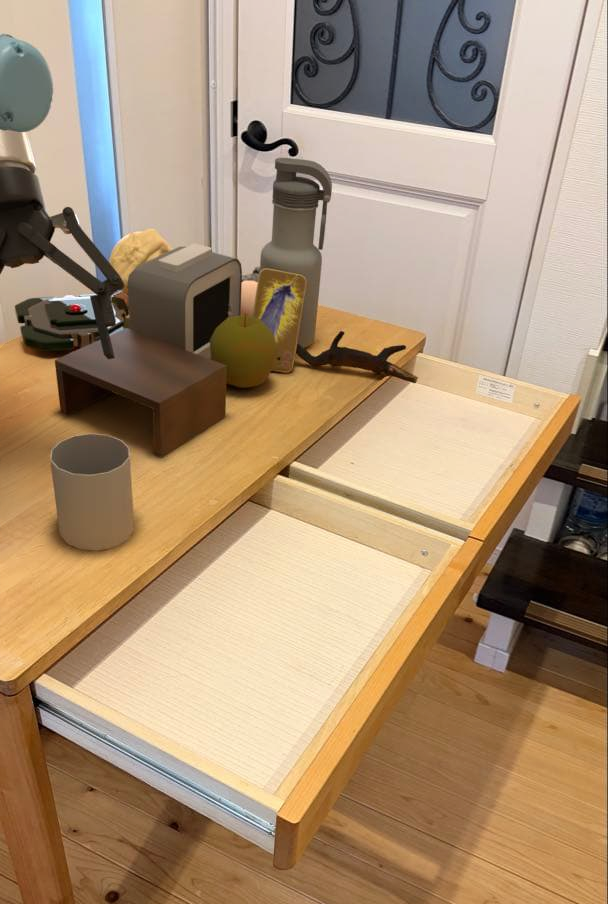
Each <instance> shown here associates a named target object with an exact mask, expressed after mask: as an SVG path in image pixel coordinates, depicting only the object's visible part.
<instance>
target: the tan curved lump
mask: <svg viewBox="0 0 608 904" xmlns="http://www.w3.org/2000/svg"><path fill="white" fill-rule="evenodd" d="M171 250H173V248H172V246H171V245H170V244H169V243H168V242H167V240H165V239H164V238H163V237H162V236H161V234H160V233H158V231H157V230H156V229H154V228H148V229H145V230H143V231H134V232H129V234H127V235H125V236H123V237H122V238H121V239H119V240H118V241H117V243H116V244H115V245H114V247H113V249H112V251H111V253H110V256H109V260H108V262H109V263H110V264H111V265H112V267H113V268H114V269H115V270H116V272H117V273H118V274H119V275H120V277H121V279H122V280H123V282H124V288H123V289H121V290H120V291H121V292H122V293H123V294H124V295H126V296H127V297H128V284H127V283H128V278H129V274H130V273H131V272H132V271H133V270H134V269H135V268H136V267H137V266H139V265H141V264H143V263H145V262H147V261H149V260H152V259H154V258H156V257H158V256H160V255H162V254H165V253H167V252H169V251H171Z"/></svg>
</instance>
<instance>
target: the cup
mask: <svg viewBox="0 0 608 904" xmlns="http://www.w3.org/2000/svg"><path fill="white" fill-rule="evenodd" d="M49 461H50V469H51V475H52V476H51V478H52V485H53V486H52V487H53V492H54V500H55V509H56V517H57V524H58V531H59V536H60V537H61V538H62V540H63V541H64V542H65V543H66V544H67V545H69V546H72V547H74V548H76V549H78V550H84V551H97V552H98V551H103V550H109V549H113V548H116V547H118V546H119V545H121V544H123V543H125V542H127V541H128V540H129V539H130V537H131V536H132V534H133V533H134V532H135V519H134V504H133V486H132V467H131V466H132V465H131V451H130V447H129V446H128V445H127V444H126V443H125V442H124V441H123V440H122V439H120V438H117V437H114V436H112V435H109V434H101V433H91V432H90V433H84V434H77V435H73V436H70V437H68V438H65V439H62V440H60V441H58V442H57V444H56V445H55V446H54V447H53V448H52V449H51V450H50V459H49Z"/></svg>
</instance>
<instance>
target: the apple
mask: <svg viewBox="0 0 608 904" xmlns="http://www.w3.org/2000/svg"><path fill="white" fill-rule="evenodd" d="M210 351H211V360H213V361H216V362H219V363H221V364H224V365H226V366H227V373H226V384H228V385H230V386H233V387H237V388H244V389H245V388H252V387H257V386H259V385H261V384H263V383H264V382H265V381H266V380H267V379H268V377H269V375H270V374H271V372H272V371H271V370H272V369H273V367H274V365H275V361H276V356H277V352H278V348H277V344H276V341H275V338H274V335H273V333H272V331H271V330H270V329H269V328H268V327H267V326H266V325H265V324H264V323H263V321H261V320H260V319H258V318H256V317H250V316H246V314H245V316H241V315H240V316H231V317H228V318H227V319H226V320H225V321H223V322H222V323H221V324H220V325H219V326H218V327H217V328H216V329H215V331H214V333H213V335H212V337H211V339H210Z"/></svg>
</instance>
